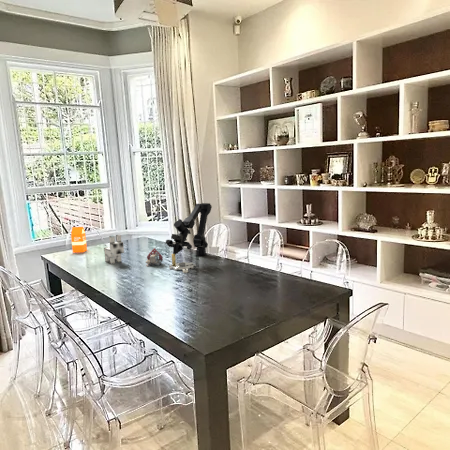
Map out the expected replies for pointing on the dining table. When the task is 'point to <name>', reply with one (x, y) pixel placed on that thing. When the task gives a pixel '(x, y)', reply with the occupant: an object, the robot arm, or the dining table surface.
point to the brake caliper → (154, 258)
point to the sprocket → (180, 264)
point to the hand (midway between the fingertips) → (173, 255)
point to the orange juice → (78, 239)
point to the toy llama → (114, 250)
